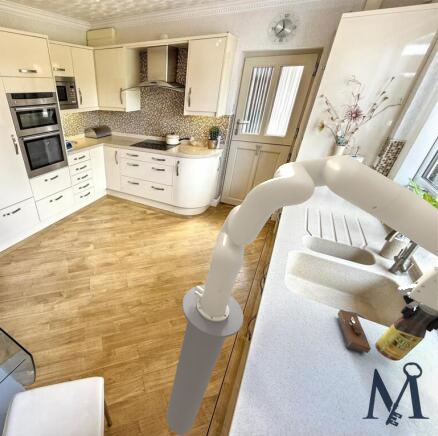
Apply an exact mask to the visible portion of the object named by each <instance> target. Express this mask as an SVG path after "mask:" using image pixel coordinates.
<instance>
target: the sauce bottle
mask: <svg viewBox="0 0 438 436" xmlns="http://www.w3.org/2000/svg"><path fill="white" fill-rule="evenodd" d="M437 317H438V311H437V310H435V309H433V308H430V307H428V306H426V305H424V304H422V303H421V304H419V305H417V306H416V307H415V308H414V311H413V312H412V313H411V314H410V315H409V317H408V318H407V319H403V318H402V316H401V317H399V318H398V319H397V320H396V321H395V322H393V323H392V324H391V325H390V326H389V328H388V329H387V330H386V331H385V332H384V333H383V334H382V335H381V336H380V337H379V338H378V339H377V341H376V342H375V345H374V347H375V349H376V350H377V352H378V353H379V354H381V356H383V357H385V358H386V359H388V360H390V361H392V362H393V361H394V362H398V361H401V360H403V359H404V358H405V357H406V356H407V355H408V354H409V353H410V352H411V351H412V350H413V349H414V348H416V347H417V345H419V344H420V343H421V342H423V340H424V339H425V337H426V335H427V332H428V331H427V327H428V325H429V324H430V322H432V321H433V320H434V319H436V318H437Z"/></svg>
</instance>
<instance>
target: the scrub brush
mask: <svg viewBox="0 0 438 436" xmlns="http://www.w3.org/2000/svg"><path fill="white" fill-rule="evenodd" d="M337 316H338V317H337V319H336V320H337V325H338V327H339V329H340V332H341V336H342V338H343V342H344V344H345V346H346V350H350V351H352V352H354V353H355V352H356V353H358V354H363V353H366V354H368V353H369V352H370V351H371V350H372V347H371V345H370V343H369V340H368V338H367V336H366V333H365V331H364V328H363V326H362V324H361V321H360V319H359V317H358V315H357V314H356V313H353V312H350V311H347V310H343V309H339V311H338V312H337Z"/></svg>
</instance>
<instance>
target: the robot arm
mask: <svg viewBox="0 0 438 436" xmlns="http://www.w3.org/2000/svg"><path fill="white" fill-rule="evenodd" d="M318 187H319V188H320V187H327V188H328V189H329V190H330V191H331V192H332V193H334V194H335V195H336V196H338V197H340V198H341V199H343V200H345V201H346V202H349V203H350V204H352V205H353V206H354V207H357V208H359V210H362V211H363V212H365V213H367V214H369V215H371V216H372V217H374V218H375V219H377V220H379V221H380V222H381V223H383V224H384V225H386V226H387V227H388V228H390V229H392V230H393V231H396V232H398V233H399V234H401V235H402V236H404V237H405V238H406V239H408V240H410V241H411V242H413V243H414V244H416V245H417V246H419V247H421V248H422V249H424V250H426V251H427V252H429V253H430V254H432V255H434V256H436V257H438V208H436V207H435V206H434V205H432V204H431V203H430V202H429V201H428V200H426V199H425V198H423V197H422V196H420V195H418V194H417V193H415V192H414V191H412V190H411V189H409V188H407V187H406V186H404V185H402V184H400V183H398V182H396V181H394V180H393V179H392V178H390V177H387V176H386V175H384V174H382V173H381V172H379V171H377V170H375V169H373V168H371V167H370V166H368V165H366V164H365V163H363V162H361V161H360V160H358V159H357V158H355V157H353V156H351V155H347V154H337V155H336V154H335V155H329V156H323V157H322V156H321V157H316V158H311V159H303V160H298V161H292V162H288V163H285V164H283V165H281V166H280V167H279V168H277V170H276V171H275V173H274V175H273V178H271V179H268V180H266V181H264V182H261V183H259V184H258V185H256V186H254V187H253V188H252V189H251V190H250V191H249V192H248V193H247V195H246V196H245V197H244V200H242V202H241V204H239V205H236V206H235V207H233V208H232V209H231V210H230V212H229V213H228V214H227V217H226V219H225V221H224V222H223V224H222V226H221V228H220V230H219V232H218V234H217V237H216V241H215V244H214V248H213V252H212V255H211V261H210V265H209V268H208V273H207V276H206V279H205V280H206V281H205V285H204V286H205V288H204V290H203V289H202V288H201V287H199V286H200V285H197V286H195V287H196V288H195V289H196V290H197V291H198V292H200V293H201V294H199V293H198V292H197V291H195V293H194V294H196V295H197V296H198V297H199V298H198V300H197V303H196V306H197V310H198V312H199V313H200V314H201V315H202V316H203V317H204V318H206V319H207V320H210V321H213V322H221V321H224V320H225V319H226V318H227V317H228V315H229V307H228V305H227V304H228V301H229V298H230V295H231V296H232V293H233V289H234V286H235V283H236V280H237V278H238V275H239V273H240V271H241V269H242V267H243V264H244V258H245V257H244V255H245V246H248V245H251V244H253V242H254V241H255V240H256V239H257V238H258V236H259V235H260V232H262V230H263V228H264V227H265V225H266V223H267V222H268V220H269V219H270V217H271V216H272V215H273V214H274V213H275V212H276V211H277V210H279V209H282V208H284V207H291V206H298V205H300V204H301V205H302V204H304V203H306V202H307V201H309V200H310V199H311V198H312V196H313V195H314V193H315V189H316V188H318ZM397 292H398V294H399V295H400V296H401V297H402V299H403V301H404V302H405V306H403V308H402V309H401V311H400V314H402V315H401V317H402V318H403V319H407V318H408V317H409V315H410V314H411V313H412V312H413V311H414V310H415V309H416V307H417V306H418V305H419V304H424V305H426V306H428V307H430V308H433V309H434V310H436V311H437V312H438V266H433V267H432V268H430V269H429V270H427V271H426V272H425V273H423V274H422V275H421V276H420V277H419V278H418V279H417V280H416V281H414V282H413V284H411V285H410V284H409V285H405V286H400V287H398V288H397ZM432 331H438V317H437V318H436V319H434V320H433V321H432V322H430V324H429V325H428V327H427V331H426V332H429V333H431V332H432Z"/></svg>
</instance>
